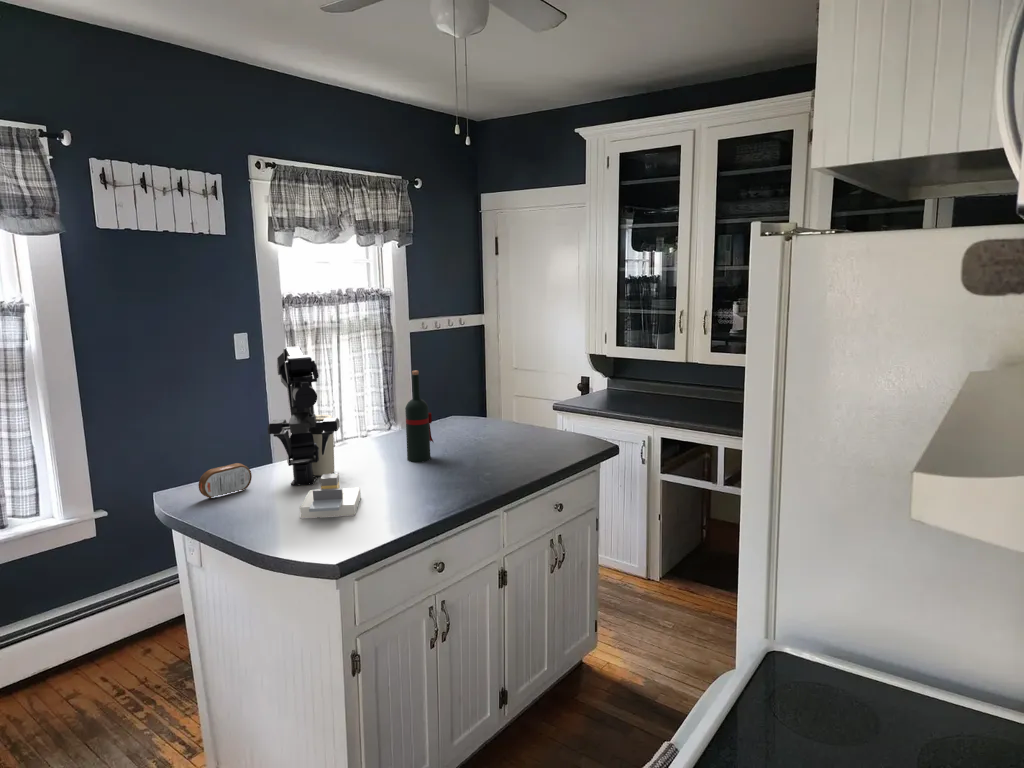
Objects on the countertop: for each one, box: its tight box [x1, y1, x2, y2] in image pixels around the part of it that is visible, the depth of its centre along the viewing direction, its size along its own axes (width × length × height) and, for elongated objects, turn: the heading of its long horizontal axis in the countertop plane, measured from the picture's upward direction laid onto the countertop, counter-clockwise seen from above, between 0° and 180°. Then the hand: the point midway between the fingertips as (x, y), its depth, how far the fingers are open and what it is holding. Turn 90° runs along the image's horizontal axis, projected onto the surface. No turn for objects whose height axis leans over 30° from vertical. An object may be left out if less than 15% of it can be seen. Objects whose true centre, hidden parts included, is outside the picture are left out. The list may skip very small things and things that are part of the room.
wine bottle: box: [405, 370, 434, 463], centre depth 226 cm, size 8×10×30 cm
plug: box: [319, 472, 341, 489], centre depth 182 cm, size 4×4×9 cm
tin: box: [197, 462, 253, 499], centre depth 195 cm, size 15×3×8 cm, turn 141°
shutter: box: [309, 487, 343, 512], centre depth 175 cm, size 7×7×3 cm
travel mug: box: [309, 414, 335, 477], centre depth 212 cm, size 8×8×18 cm
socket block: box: [299, 487, 362, 519], centre depth 183 cm, size 14×14×3 cm
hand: (306, 455), depth 191 cm, fingers open, 9 cm apart
